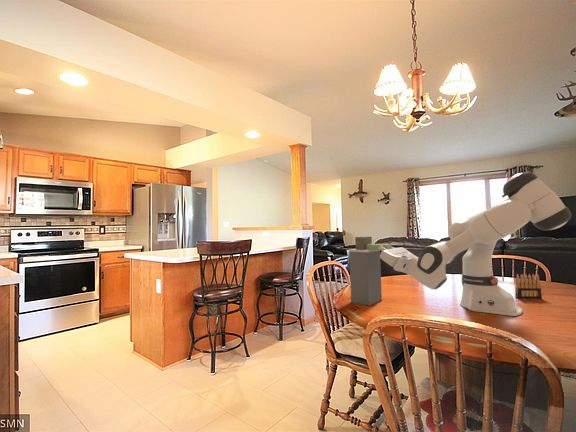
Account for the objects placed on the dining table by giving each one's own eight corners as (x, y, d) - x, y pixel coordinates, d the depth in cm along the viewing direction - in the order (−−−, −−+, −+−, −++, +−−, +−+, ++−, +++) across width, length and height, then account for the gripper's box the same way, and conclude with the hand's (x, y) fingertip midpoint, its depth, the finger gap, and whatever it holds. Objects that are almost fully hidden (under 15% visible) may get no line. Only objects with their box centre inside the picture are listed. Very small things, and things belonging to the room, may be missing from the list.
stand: (381, 300, 147) (379, 248, 148) (369, 305, 138) (367, 250, 139) (364, 297, 154) (362, 247, 155) (351, 302, 146) (349, 249, 146)
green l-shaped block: (392, 249, 140) (392, 236, 140) (385, 250, 135) (385, 237, 135) (363, 248, 152) (362, 236, 152) (355, 249, 147) (355, 237, 147)
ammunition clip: (539, 298, 144) (538, 273, 144) (542, 299, 142) (540, 274, 143) (515, 297, 146) (514, 273, 146) (517, 298, 144) (516, 274, 144)
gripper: (420, 254, 137) (395, 239, 146) (401, 259, 123) (374, 241, 132) (414, 265, 140) (390, 250, 148) (394, 271, 125) (368, 253, 134)
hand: (382, 246), depth 140 cm, fingers closed on green l-shaped block, 4 cm apart
